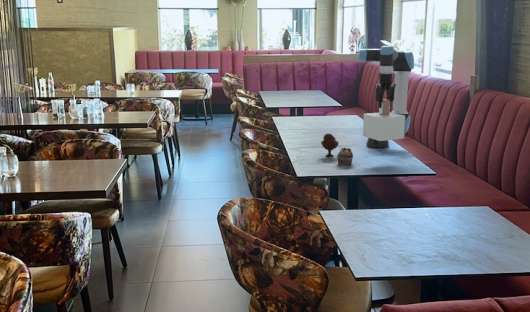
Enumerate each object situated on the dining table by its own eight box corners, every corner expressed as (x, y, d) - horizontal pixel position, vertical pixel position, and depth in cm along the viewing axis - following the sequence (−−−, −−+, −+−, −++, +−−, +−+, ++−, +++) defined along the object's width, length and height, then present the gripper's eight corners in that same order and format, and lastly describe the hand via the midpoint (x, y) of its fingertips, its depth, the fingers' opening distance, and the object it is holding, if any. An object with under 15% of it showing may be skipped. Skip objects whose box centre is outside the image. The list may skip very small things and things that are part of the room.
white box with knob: (386, 133, 337) (387, 97, 332) (404, 138, 322) (406, 100, 317) (362, 135, 330) (364, 98, 325) (379, 141, 315) (381, 102, 310)
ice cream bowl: (337, 158, 340) (338, 135, 337) (319, 158, 342) (320, 134, 339) (338, 155, 350) (339, 132, 347) (321, 154, 352) (322, 131, 349)
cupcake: (354, 162, 330) (354, 146, 328) (351, 166, 321) (351, 149, 319) (338, 161, 333) (338, 145, 331) (335, 165, 324) (335, 148, 322)
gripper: (394, 72, 324) (392, 111, 329) (370, 73, 317) (368, 113, 323) (402, 73, 317) (400, 112, 323) (377, 74, 311) (376, 114, 316)
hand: (384, 112), depth 323 cm, fingers closed on white box with knob, 4 cm apart
